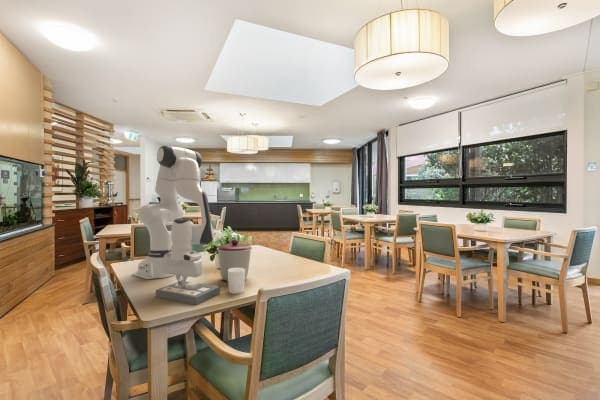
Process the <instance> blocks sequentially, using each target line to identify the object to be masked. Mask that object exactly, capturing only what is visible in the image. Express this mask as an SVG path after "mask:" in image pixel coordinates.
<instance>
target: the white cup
mask: <svg viewBox="0 0 600 400" xmlns="http://www.w3.org/2000/svg"><path fill="white" fill-rule="evenodd" d="M245 281H246V278H245V269H244V268H231V269H228V281H227V284H228V292H229V293H230V294H235V295H236V294H241V293H243V292H244V291H245Z"/></svg>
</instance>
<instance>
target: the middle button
mask: <svg viewBox="0 0 600 400" xmlns="http://www.w3.org/2000/svg"><path fill="white" fill-rule="evenodd" d="M189 282H190V283H187V284H185V288H187V289H194V288H197V287H199V284H200V283H199V282H194V281H189Z"/></svg>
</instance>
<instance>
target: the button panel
mask: <svg viewBox="0 0 600 400" xmlns="http://www.w3.org/2000/svg"><path fill="white" fill-rule="evenodd" d="M190 282H191V281H186V283H185V284H187V283H190ZM177 284H178V281H177V282H174V283H172V284H169V285H166V286H163V287H160V288H157V289H156V290H155V298H158V299H159V298H160V299H164V300H169V301H173V302H175V301H176V302H179V303H185V304H190V305H195V306H198V305H199V304H202V303H203V302H205V301H207V300H209V299H212V298H213V297H215V296H217V295H220V294H221V287H220V286H217V285H210V284H204V283H199V287H197V288H194V289H187V288H185V286H183V287H175V286H174V285H177ZM203 287H204V288H210V289H209V290H206V291H199V290H198V289H200V288H203Z"/></svg>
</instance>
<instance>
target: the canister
mask: <svg viewBox="0 0 600 400" xmlns="http://www.w3.org/2000/svg"><path fill="white" fill-rule="evenodd" d="M252 249H253V247H252V246H251V245H250V244H246V243H239V239H236V238H233V239H231V242H230V243H225V244H221V245H219V246H218V247H217V248H216V250H217V252H218V254H217V255H218V264H219V273H220V277H221V279H222V280H224V281H225V282H228V269H231V268H244V269H245V279H246V278H247V276H248V274H249V266H250V261H251V251H252Z"/></svg>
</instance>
